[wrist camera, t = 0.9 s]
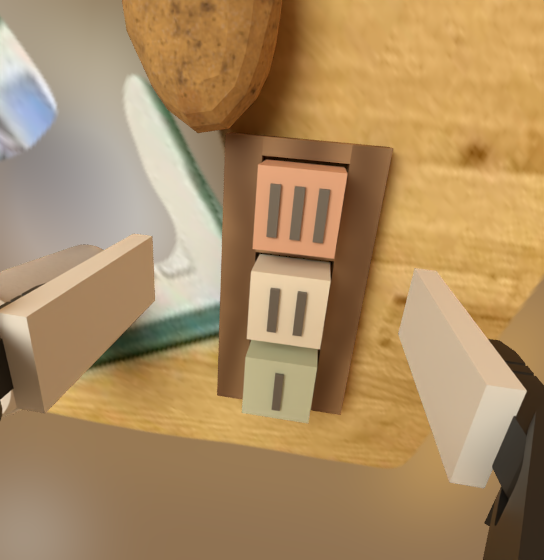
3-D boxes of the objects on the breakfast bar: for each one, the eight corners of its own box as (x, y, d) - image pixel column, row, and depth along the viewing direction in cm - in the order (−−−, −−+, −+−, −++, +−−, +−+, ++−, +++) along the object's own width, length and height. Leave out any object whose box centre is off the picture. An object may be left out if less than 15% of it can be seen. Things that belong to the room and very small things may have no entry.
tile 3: (261, 234, 30) (251, 250, 26) (266, 159, 28) (257, 165, 24) (333, 242, 30) (334, 260, 26) (344, 167, 28) (347, 174, 24)
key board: (222, 382, 39) (217, 395, 37) (231, 132, 29) (225, 132, 27) (339, 400, 38) (340, 414, 36) (388, 146, 28) (392, 148, 26)
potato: (165, 130, 30) (113, 132, 23) (145, -102, 24) (68, -199, 17) (287, 133, 29) (274, 135, 21) (295, -110, 23) (280, -218, 16)
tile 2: (255, 315, 33) (245, 341, 29) (259, 253, 31) (250, 272, 27) (320, 324, 33) (319, 351, 29) (330, 262, 31) (330, 282, 27)
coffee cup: (155, 262, 34) (42, 354, 21) (120, 337, 38) (4, 457, 24) (60, 208, 34) (-123, 266, 20) (34, 290, 37) (-136, 386, 24)
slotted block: (250, 383, 36) (241, 415, 32) (254, 331, 34) (244, 358, 30) (310, 392, 36) (308, 426, 32) (318, 340, 34) (317, 369, 30)
